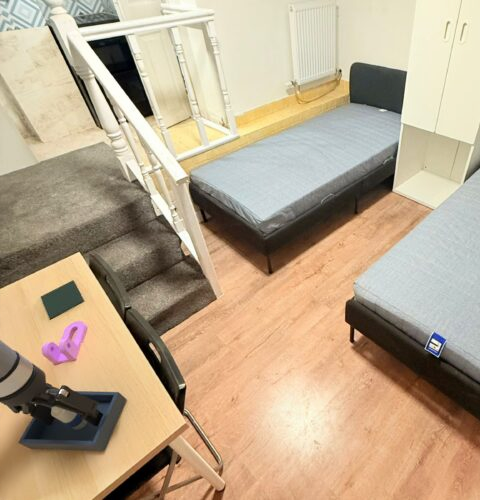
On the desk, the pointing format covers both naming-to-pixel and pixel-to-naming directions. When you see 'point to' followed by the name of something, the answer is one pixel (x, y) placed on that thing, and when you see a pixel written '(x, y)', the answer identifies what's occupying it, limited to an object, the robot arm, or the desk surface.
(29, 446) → the dark blue tray
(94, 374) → the desk surface
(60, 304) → the desk mat
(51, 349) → the bracket
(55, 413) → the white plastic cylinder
